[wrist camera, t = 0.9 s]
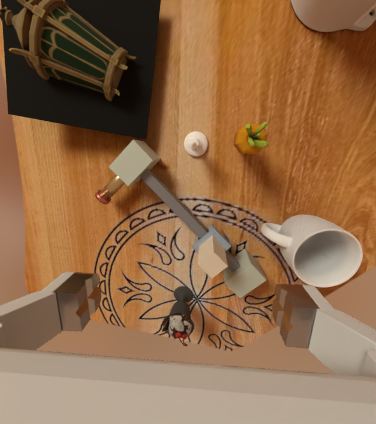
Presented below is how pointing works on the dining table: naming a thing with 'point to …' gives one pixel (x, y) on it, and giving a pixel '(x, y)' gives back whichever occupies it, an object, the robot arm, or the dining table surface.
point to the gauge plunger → (109, 190)
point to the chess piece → (195, 144)
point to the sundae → (180, 315)
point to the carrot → (251, 138)
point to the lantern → (81, 61)
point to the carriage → (212, 251)
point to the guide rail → (185, 214)
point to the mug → (316, 249)
